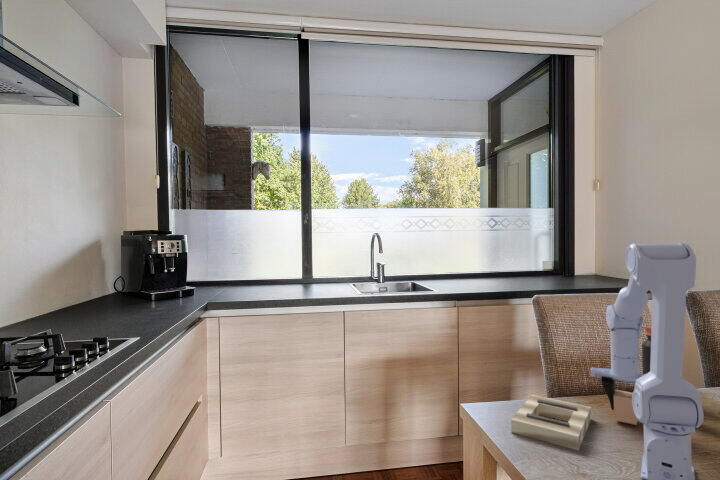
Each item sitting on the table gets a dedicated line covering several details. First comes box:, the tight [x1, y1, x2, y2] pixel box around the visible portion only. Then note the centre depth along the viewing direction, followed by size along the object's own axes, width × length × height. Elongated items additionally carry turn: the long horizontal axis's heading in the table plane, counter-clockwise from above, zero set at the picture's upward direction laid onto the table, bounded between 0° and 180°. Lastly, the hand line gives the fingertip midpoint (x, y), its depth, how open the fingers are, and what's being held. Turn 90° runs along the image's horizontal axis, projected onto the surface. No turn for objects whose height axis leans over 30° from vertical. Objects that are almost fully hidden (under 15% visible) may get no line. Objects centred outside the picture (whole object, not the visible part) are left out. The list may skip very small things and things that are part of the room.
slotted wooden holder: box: [510, 394, 592, 451], centre depth 96 cm, size 18×14×4 cm
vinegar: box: [641, 325, 652, 374], centre depth 109 cm, size 7×7×20 cm
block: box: [613, 389, 639, 426], centre depth 97 cm, size 4×4×6 cm
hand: (625, 411), depth 97 cm, fingers closed on block, 4 cm apart
